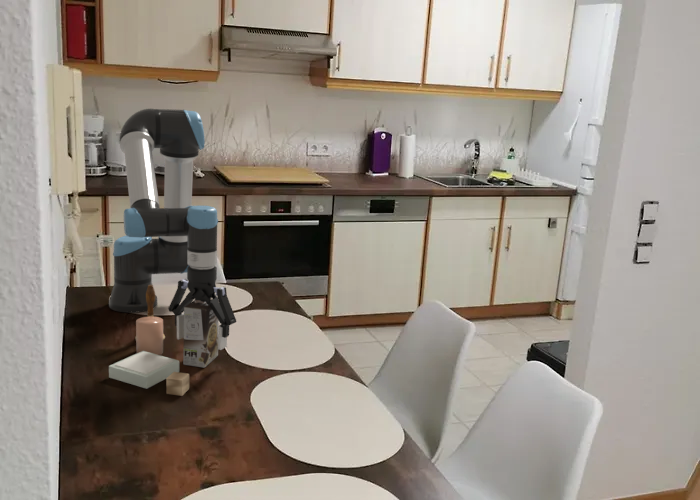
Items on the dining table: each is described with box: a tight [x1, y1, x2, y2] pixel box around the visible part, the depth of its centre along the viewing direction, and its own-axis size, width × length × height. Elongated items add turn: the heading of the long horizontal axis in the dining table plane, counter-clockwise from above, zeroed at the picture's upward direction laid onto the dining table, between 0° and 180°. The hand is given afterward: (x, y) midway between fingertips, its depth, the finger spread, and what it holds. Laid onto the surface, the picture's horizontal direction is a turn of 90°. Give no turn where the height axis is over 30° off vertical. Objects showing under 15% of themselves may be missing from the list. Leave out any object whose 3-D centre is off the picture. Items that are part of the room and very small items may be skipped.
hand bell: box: [134, 284, 166, 341], centre depth 191 cm, size 8×8×16 cm
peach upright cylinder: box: [135, 316, 164, 356], centre depth 182 cm, size 7×7×9 cm
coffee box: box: [182, 298, 219, 368], centre depth 177 cm, size 9×6×16 cm
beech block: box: [165, 371, 190, 397], centre depth 160 cm, size 4×4×4 cm
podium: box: [108, 351, 180, 389], centre depth 168 cm, size 12×12×3 cm
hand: (201, 343), depth 178 cm, fingers open, 13 cm apart
